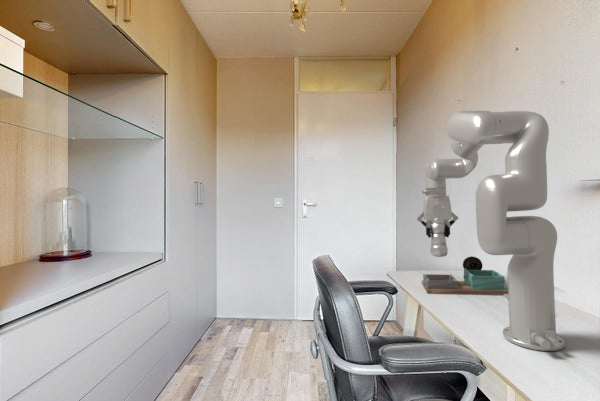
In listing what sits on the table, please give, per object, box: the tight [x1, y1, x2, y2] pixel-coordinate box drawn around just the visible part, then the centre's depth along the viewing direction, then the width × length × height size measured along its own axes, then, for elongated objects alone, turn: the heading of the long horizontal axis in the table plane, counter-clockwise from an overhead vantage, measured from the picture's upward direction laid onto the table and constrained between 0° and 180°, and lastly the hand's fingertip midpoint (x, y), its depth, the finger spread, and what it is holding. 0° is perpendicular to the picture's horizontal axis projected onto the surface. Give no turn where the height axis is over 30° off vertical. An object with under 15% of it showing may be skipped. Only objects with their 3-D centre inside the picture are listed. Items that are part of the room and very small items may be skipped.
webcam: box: [462, 256, 483, 271], centre depth 139 cm, size 8×8×10 cm
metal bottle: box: [429, 218, 449, 258], centre depth 126 cm, size 6×7×20 cm
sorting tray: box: [421, 269, 508, 296], centre depth 124 cm, size 14×28×6 cm, turn 77°
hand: (438, 236), depth 126 cm, fingers closed on metal bottle, 6 cm apart
